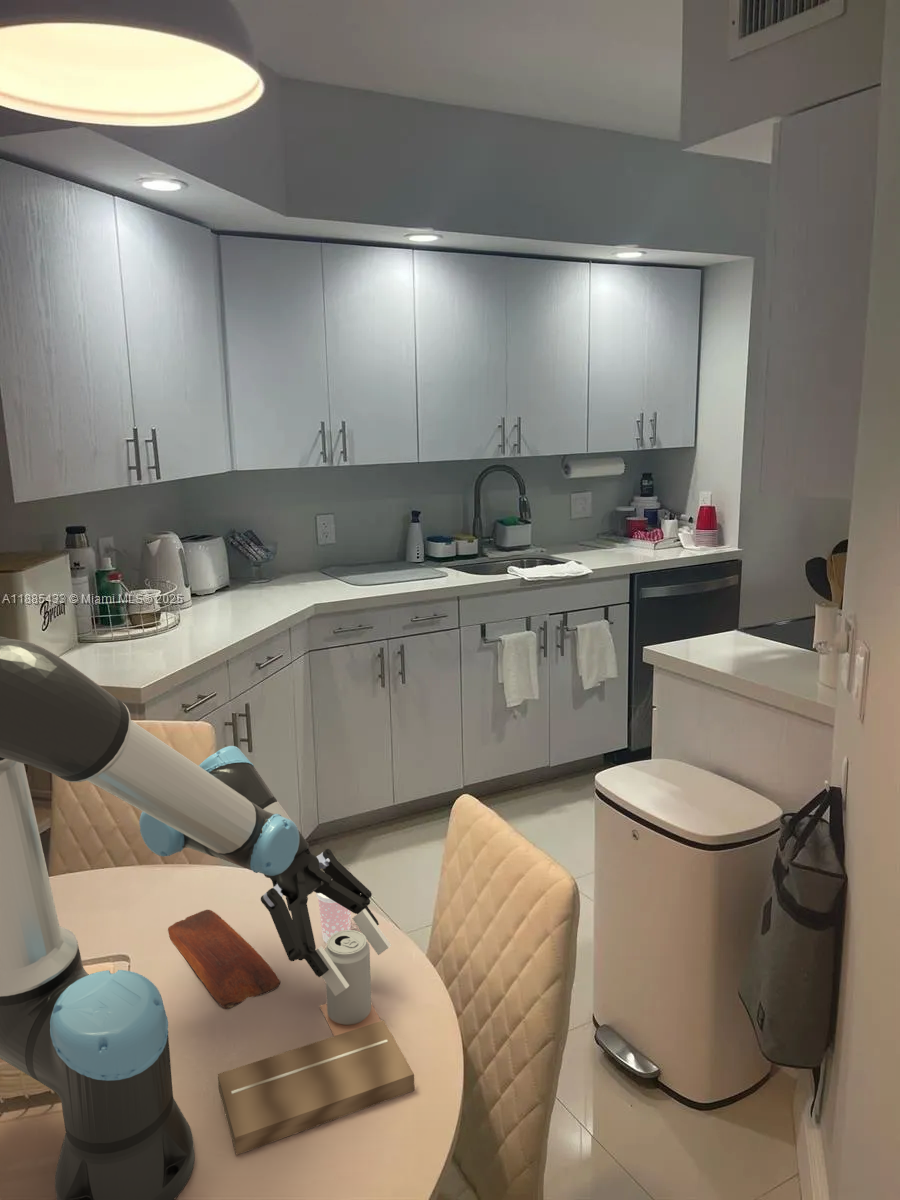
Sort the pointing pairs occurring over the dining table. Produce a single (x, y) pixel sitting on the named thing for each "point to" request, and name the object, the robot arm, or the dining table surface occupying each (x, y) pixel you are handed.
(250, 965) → the wooden tablet
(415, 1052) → the dining table surface
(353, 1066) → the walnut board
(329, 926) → the beverage cup
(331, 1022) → the end tile
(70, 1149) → the robot arm
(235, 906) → the dining table surface
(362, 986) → the beverage can
